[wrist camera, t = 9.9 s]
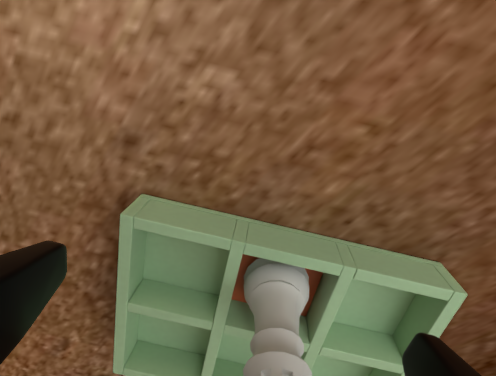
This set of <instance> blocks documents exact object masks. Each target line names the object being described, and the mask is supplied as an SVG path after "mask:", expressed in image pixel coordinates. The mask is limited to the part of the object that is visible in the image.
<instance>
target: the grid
mask: <svg viewBox="0 0 496 376" xmlns="http://www.w3.org/2000/svg"><path fill="white" fill-rule="evenodd" d="M259 258H263V259H267V260H271V261H276V262H280V263H284V264H289V265H293V266H297V267H302V268H305V270H306V272H307V274H308V276H309V299H308V302H307V304H306V305H305V307H304V310H303V311H302V313H301V315H300V318H299V337H300V338H301V340H302V342H303V344H304V353H303V355H302V356H301V358H302V359H303V360H304V361H305V362H306V363H307V365H308V366H309V368H310V370H311V372H312V376H405V374H404V369H403V364H402V357H403V353H404V351H405V350H406V348H407V347H408V345H409V344H410V342H411V341H412V339H413V338H414V336H415V335H416V334H417V333H420V332H421V333H426V334H430V335H434V336H436V337H438V338H439V337H440V335H441V334H442V332H443V331H444V329H445V328H446V326H447V325H448V323H449V322H450V320H451V319H452V317H453V316H454V314H455V313H456V311H457V310H458V309H459V307H460V306H461V304H462V303H463V301H464V300H465V298H466V297H467V295H468V294H467V293H466V292H465V291H464V289H463V288H462V287H461V286H460V285H459V284H458V282H457V281H456V280H455V279H454V278H453V277H452V276H451V274H450V273H449V272H448V271H447V270H446V269H445V268H444V266H443V265H442V264H441V263H439V262H435V261H430V260H426V259H422V258H417V257H413V256H409V255H404V254H400V253H396V252H391V251H387V250H383V249H379V248H374V247H370V246H366V245H361V244H357V243H353V242H348V241H344V240H340V239H335V238H331V237H327V236H322V235H318V234H314V233H309V232H305V231H301V230H296V229H292V228H288V227H283V226H279V225H275V224H270V223H266V222H262V221H258V220H253V219H249V218H245V217H240V216H236V215H232V214H227V213H223V212H219V211H214V210H210V209H206V208H201V207H197V206H193V205H188V204H184V203H180V202H175V201H171V200H167V199H162V198H158V197H154V196H149V195H145V194H141V195H140V196H139V197H138V198H137V199H136V200H135V201H134V202H133V203H132V204H130V205H129V206H128V207H127V208H126V209H125V210H124V211H123V212H122V213H121V214H120V228H119V250H118V271H117V293H116V315H115V336H114V358H113V373H116V374H121V375H126V376H243V369H244V367H245V365H246V363H247V361H248V360H249V359H250V358H251V357H252V356H253V354H252V352H251V350H250V342H251V340H252V338H253V336H254V334H255V323H254V315H253V313H252V311H251V309H250V308H249V305H248V303H247V302H246V300H245V296H244V275H245V272H246V270H247V268H248V266H249V265H251V264H252V263H253V262H254V261H255V260H256V259H259Z"/></svg>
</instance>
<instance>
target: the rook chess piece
mask: <svg viewBox="0 0 496 376" xmlns="http://www.w3.org/2000/svg"><path fill="white" fill-rule="evenodd" d="M244 296H245V300H246V302H247V303H248V305H249V308H250V309H251V311H252V313H253V315H254V323H255V334H254V336H253V338H252V340H251V342H250V350H251V352H252V354H253V356H252V357H251V358H250V359H249V360H248V361H247V363H246V365H245V367H244V369H243V376H312V372H311V370H310V368H309V366H308V365H307V363H306V362H305V361H304V360H303V359H302V358H301V356H302V355H303V353H304V344H303V342H302V340H301V338H300V337H299V318H300V315H301V313H302V311H303V310H304V307H305V305H306V304H307V302H308V299H309V276H308V274H307V272H306V270H305V268H302V267H297V266H293V265H289V264H284V263H280V262H276V261H271V260H267V259H263V258H259V259H256V260H255V261H254V262H253V263H252V264H251V265H249V266H248V268H247V270H246V272H245V275H244Z"/></svg>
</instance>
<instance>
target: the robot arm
mask: <svg viewBox="0 0 496 376" xmlns="http://www.w3.org/2000/svg"><path fill="white" fill-rule="evenodd" d="M66 272H67V250H66V246H65V245H64V244H61V243H57V242H53V241H44V242H41V243H38V244H34V245H31V246H28V247H25V248H22V249H18V250H15V251H12V252H9V253H6V254H3V255H0V364H1V363H2V362H3V361H4V360H5V358H6V357H7V356H8V355H9V354H10V352H11V351H12V350H13V349H14V348H15V346H16V345H17V344H18V343H19V342H20V340H21V339H22V338H23V337H24V335H25V334H26V332H27V331H28V330H29V328H30V327H31V326H32V324H33V323H34V321H35V320H36V318H37V317H38V316H39V314H40V313H41V311H42V310H43V309H44V307H45V306H46V304H47V303H48V301H49V300H50V299H51V297H52V296H53V294H54V293H55V291H56V290H57V289H58V287H59V286H60V284H61V283H62V281H63V280H64V278H65V276H66ZM402 364H403V369H404V374H405V376H481V375H480V374H479V373H478V372H476V371H475V370H474V369H473V368H472V367H471V366H470V365H469V364H467V363H466V362H465V361H464V360H463V359H462V358H461V357H459V356H458V355H457V354H456V353H455V352H454V351H453V350H452V349H450V348H449V347H448V346H447V345H446V344H445V343H444V342H443V341H441V340H440V339H439V338H438V337H436V336H434V335H430V334H426V333H421V332H420V333H417V334H416V335H415V336H414V338H413V339H412V341H411V342H410V344H409V345H408V347H407V348H406V350H405V351H404V353H403V357H402Z"/></svg>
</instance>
